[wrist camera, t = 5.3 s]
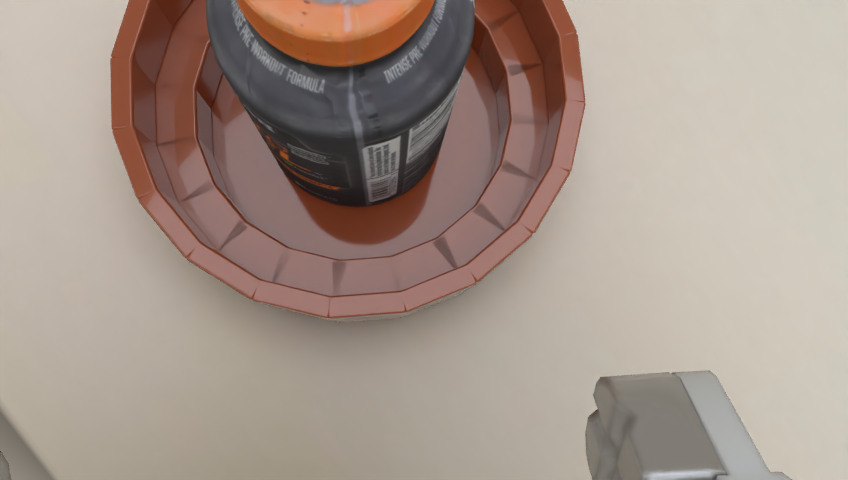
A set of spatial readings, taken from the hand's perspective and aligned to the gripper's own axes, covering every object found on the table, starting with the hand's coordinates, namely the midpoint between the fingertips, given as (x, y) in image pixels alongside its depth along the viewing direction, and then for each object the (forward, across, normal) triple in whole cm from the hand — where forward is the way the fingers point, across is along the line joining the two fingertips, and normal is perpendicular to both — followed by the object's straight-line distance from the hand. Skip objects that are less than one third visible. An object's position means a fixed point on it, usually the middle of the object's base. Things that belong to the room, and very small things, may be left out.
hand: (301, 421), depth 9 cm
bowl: (+15, -1, +4) cm, 16 cm away
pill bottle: (+15, -1, +3) cm, 16 cm away
